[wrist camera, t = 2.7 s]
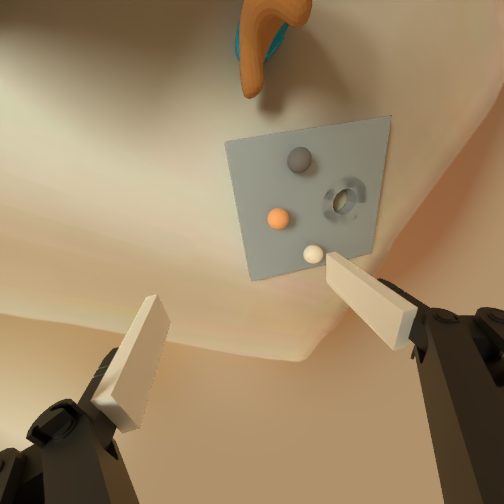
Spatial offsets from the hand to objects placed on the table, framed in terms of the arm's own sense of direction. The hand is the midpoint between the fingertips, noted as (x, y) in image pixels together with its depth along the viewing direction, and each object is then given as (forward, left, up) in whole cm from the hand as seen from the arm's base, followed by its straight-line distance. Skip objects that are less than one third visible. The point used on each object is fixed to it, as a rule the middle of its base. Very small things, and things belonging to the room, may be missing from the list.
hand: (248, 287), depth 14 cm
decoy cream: (+14, -8, -17) cm, 23 cm away
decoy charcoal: (+12, +8, -17) cm, 22 cm away
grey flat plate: (+15, 0, -21) cm, 26 cm away
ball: (+8, 0, -17) cm, 18 cm away
